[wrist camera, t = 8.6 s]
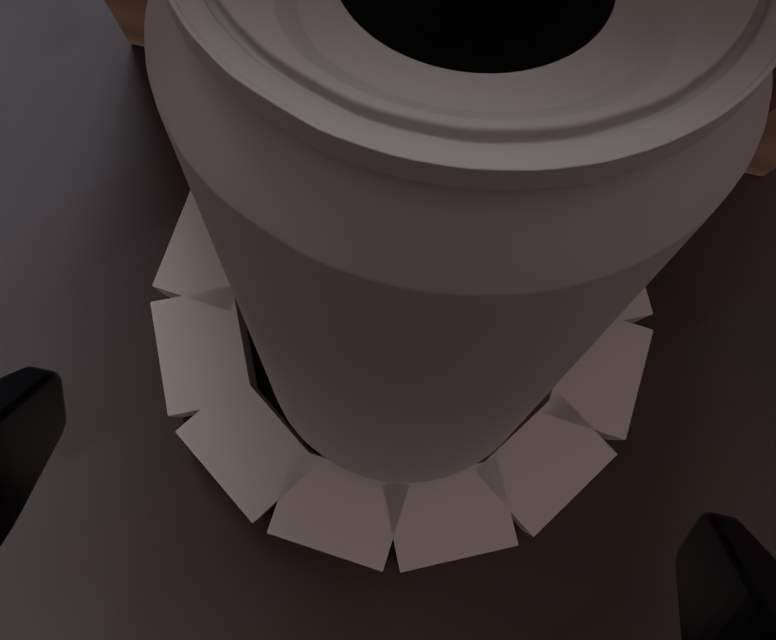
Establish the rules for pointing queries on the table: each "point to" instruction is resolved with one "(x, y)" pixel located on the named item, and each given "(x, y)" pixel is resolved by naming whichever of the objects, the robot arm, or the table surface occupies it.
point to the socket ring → (357, 493)
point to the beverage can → (449, 191)
